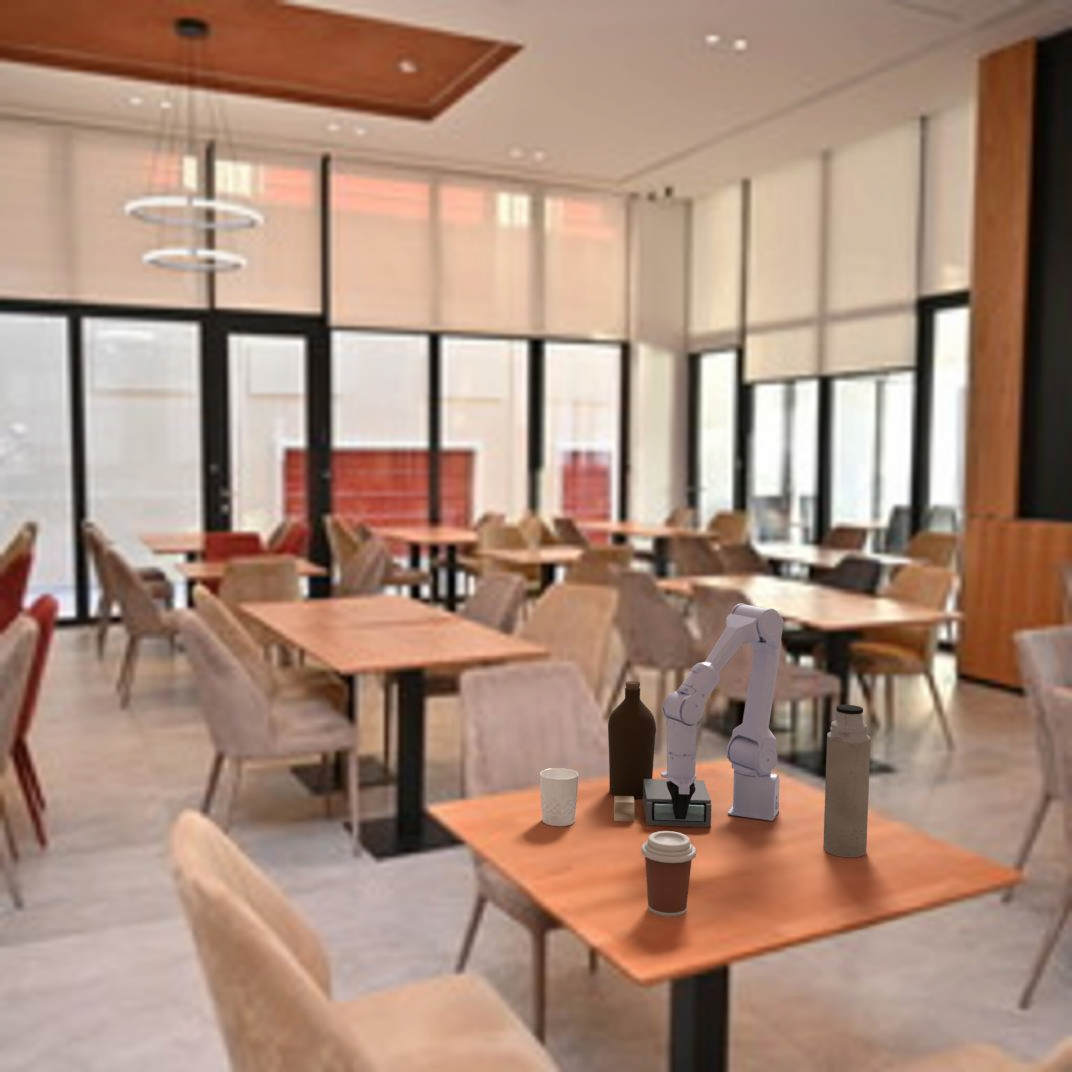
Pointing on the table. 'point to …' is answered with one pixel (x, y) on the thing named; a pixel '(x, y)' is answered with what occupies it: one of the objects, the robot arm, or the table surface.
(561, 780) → the white cup
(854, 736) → the thermos bottle
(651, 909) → the coffee cup
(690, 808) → the tray
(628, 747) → the olive oil
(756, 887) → the table surface
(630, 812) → the birch block
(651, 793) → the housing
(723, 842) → the table surface
